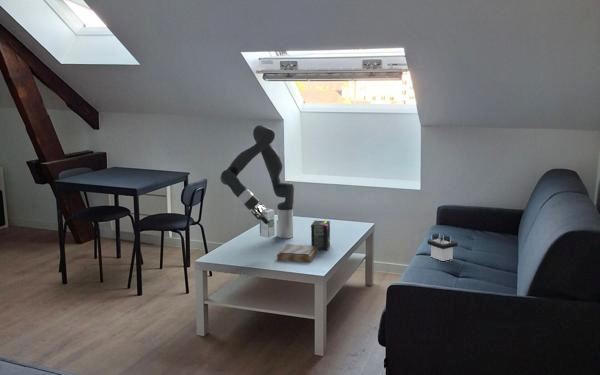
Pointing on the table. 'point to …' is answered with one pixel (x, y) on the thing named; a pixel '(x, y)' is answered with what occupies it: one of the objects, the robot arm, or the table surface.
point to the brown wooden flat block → (297, 253)
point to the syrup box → (267, 229)
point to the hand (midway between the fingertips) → (269, 221)
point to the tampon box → (320, 234)
